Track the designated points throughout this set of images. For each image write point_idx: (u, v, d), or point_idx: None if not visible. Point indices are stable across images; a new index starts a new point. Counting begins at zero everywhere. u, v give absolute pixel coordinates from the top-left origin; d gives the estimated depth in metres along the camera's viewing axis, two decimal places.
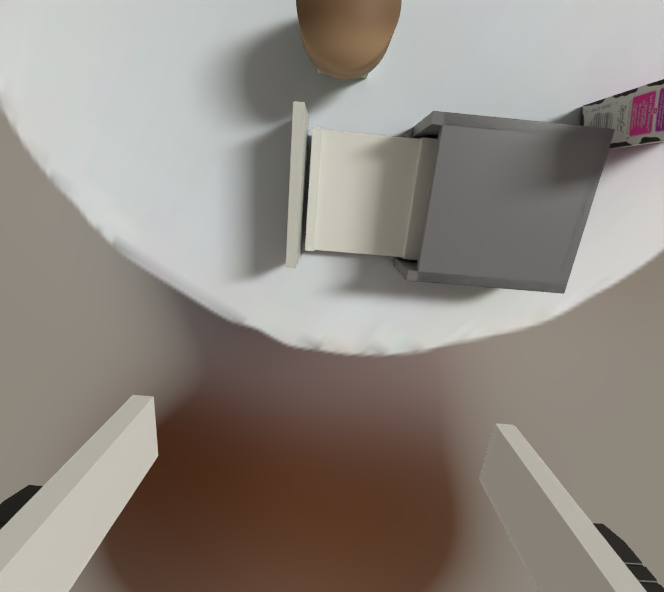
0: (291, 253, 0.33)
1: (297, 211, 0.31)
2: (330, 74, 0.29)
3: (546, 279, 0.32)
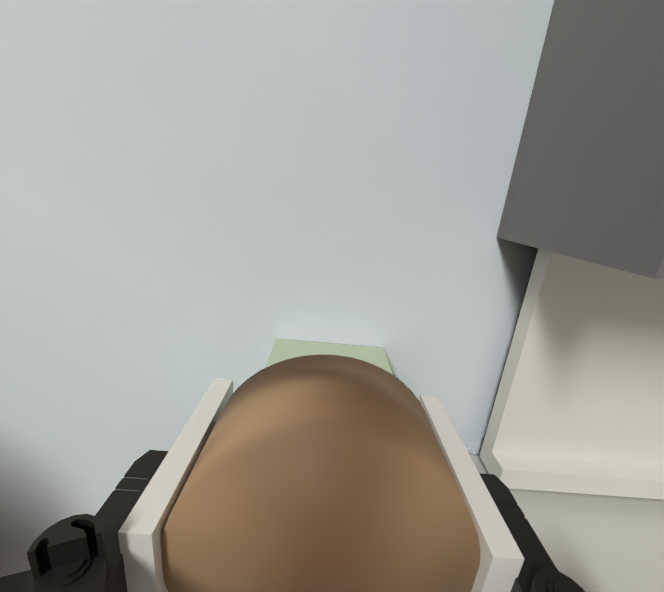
0: None
1: None
2: None
3: None
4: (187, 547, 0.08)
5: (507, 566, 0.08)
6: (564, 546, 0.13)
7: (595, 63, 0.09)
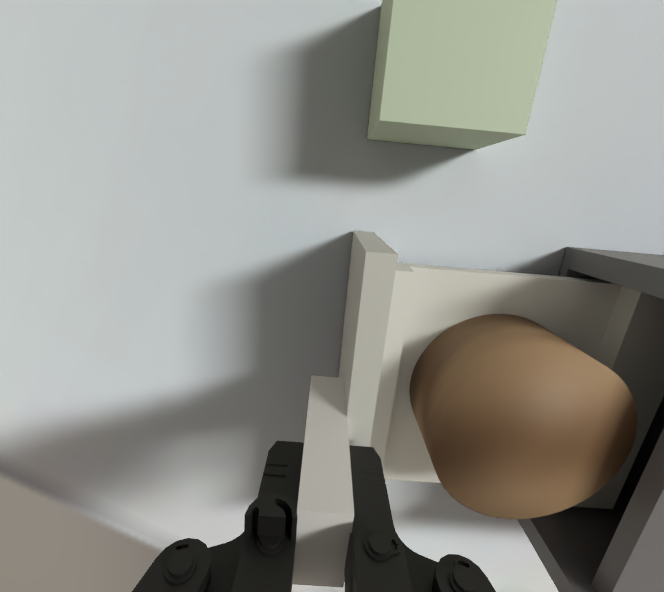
0: None
1: None
2: None
3: None
4: (569, 370, 0.12)
5: (340, 521, 0.08)
6: None
7: None
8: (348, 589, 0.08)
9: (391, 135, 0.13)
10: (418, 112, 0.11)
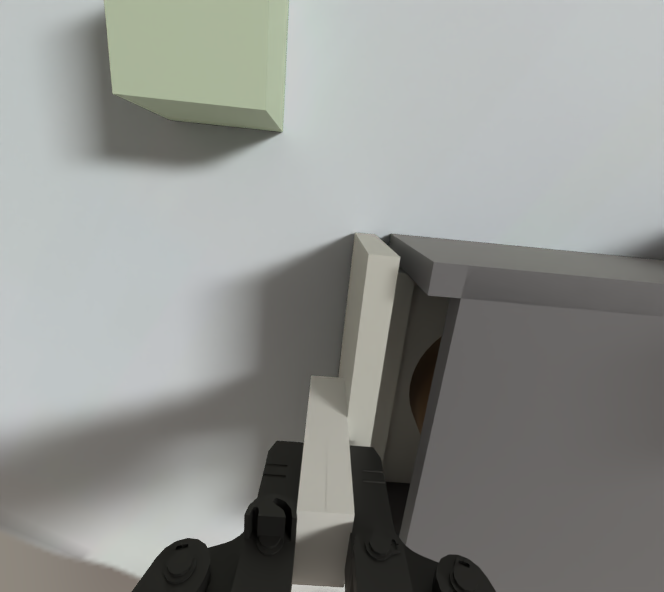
0: None
1: None
2: None
3: None
4: None
5: (340, 521, 0.08)
6: None
7: (533, 255, 0.13)
8: (348, 589, 0.08)
9: (173, 114, 0.13)
10: (150, 85, 0.11)
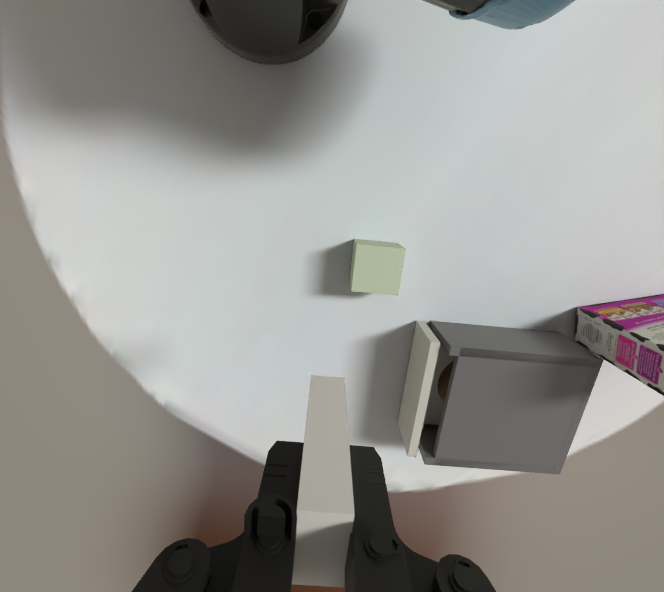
0: (413, 447, 0.38)
1: (423, 417, 0.37)
2: None
3: (544, 464, 0.38)
4: None
5: (340, 521, 0.08)
6: None
7: (484, 335, 0.37)
8: (348, 589, 0.08)
9: None
10: (363, 289, 0.35)
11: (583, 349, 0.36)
